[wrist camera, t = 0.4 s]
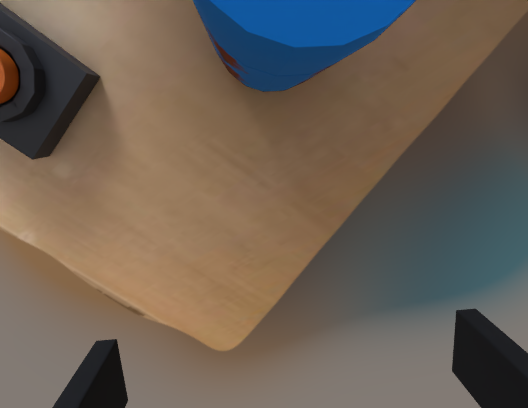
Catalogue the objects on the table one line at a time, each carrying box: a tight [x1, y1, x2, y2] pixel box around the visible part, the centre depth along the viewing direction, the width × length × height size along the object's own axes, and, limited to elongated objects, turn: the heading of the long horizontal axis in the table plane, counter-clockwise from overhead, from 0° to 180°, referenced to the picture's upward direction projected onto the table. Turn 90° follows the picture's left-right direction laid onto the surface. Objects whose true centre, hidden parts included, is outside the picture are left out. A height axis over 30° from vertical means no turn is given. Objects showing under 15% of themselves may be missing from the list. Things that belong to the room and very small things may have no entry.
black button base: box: [0, 3, 100, 159], centre depth 34 cm, size 12×10×5 cm
